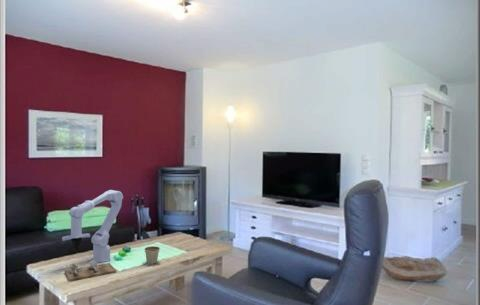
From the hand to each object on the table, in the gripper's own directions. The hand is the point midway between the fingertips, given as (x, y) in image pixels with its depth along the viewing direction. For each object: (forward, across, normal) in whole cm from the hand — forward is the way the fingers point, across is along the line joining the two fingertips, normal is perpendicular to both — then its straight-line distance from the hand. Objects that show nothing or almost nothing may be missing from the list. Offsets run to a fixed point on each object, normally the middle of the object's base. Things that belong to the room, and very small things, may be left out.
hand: (76, 250), depth 204 cm
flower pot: (+10, +40, -16) cm, 44 cm away
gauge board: (+9, +5, -14) cm, 18 cm away
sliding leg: (+8, +7, -13) cm, 17 cm away
